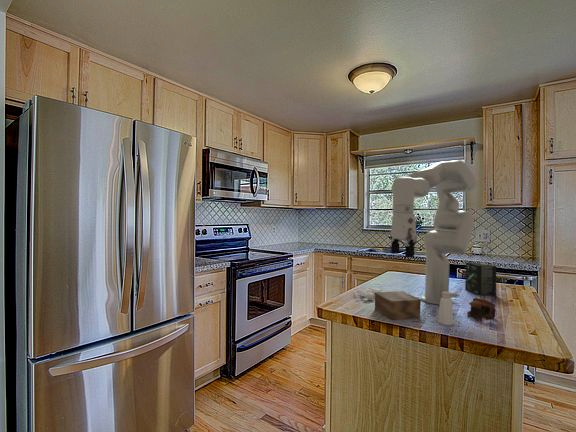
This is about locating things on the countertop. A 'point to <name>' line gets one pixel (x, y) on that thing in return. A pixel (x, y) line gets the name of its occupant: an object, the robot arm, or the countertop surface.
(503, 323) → the countertop surface
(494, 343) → the countertop surface
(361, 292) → the tangled rod sculpture
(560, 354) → the countertop surface
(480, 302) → the dark brown rounded lump
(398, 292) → the walnut box
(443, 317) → the pepper shaker
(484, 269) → the tampon box
